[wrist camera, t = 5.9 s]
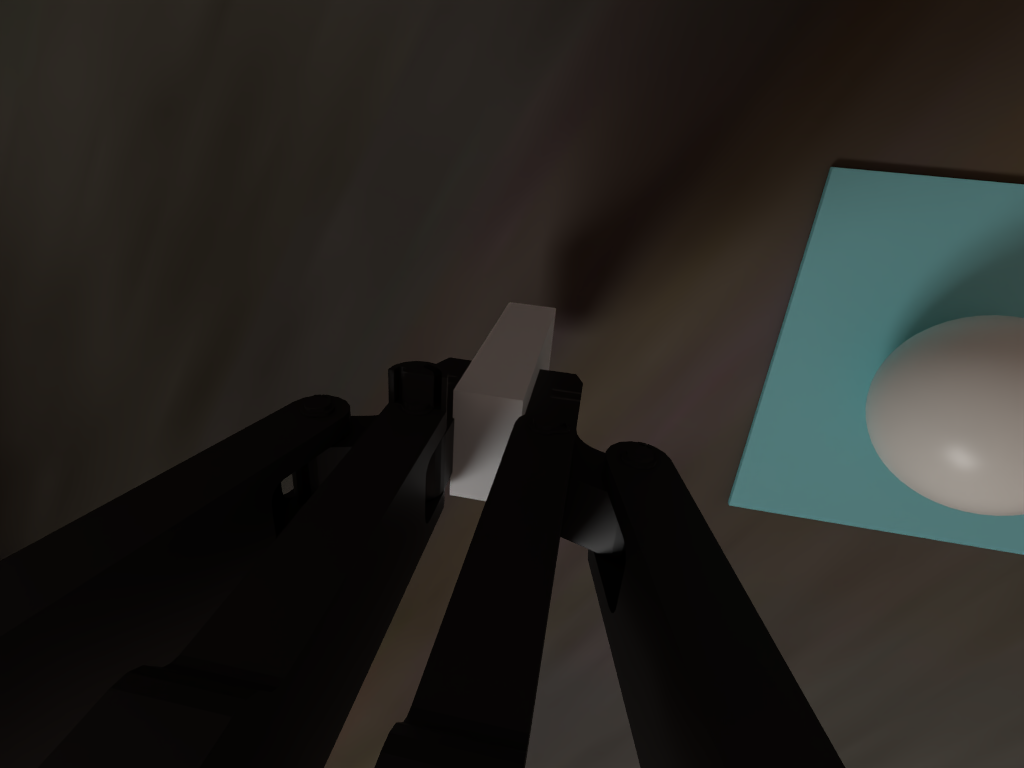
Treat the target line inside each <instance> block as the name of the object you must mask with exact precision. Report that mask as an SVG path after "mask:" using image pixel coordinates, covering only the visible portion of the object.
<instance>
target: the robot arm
mask: <svg viewBox="0 0 1024 768" xmlns="http://www.w3.org/2000/svg"><path fill="white" fill-rule="evenodd" d="M555 314H556V308H551V307H543V306H535V305H528V304H520V303H512V302H509V303H508V305H507V307H506V308H505V310H504V311H503V313H502V315H501V316H500V318H499V319H498V321H497V322H496V324H495V326H494V327H493V329H492V330H491V332H490V333H489V335H488V337H487V338H486V340H485V341H484V343H483V344H482V346H481V348H480V349H479V351H478V352H477V354H476V356H475V357H474V359H473V360H472V361H470V360H463V359H456V358H448V359H446V360H443V361H441V362H439V363H437V364H434V363H430V362H422V361H411V362H403V363H400V364H396V365H394V366H392V367H391V368H389V369H388V384H389V403H388V405H387V406H386V407H385V408H384V409H383V411H382V412H381V413H380V414H379V415H374V416H351V414H350V405H349V404H348V403H347V401H345V400H343V399H341V398H339V397H334V396H330V395H314V396H311V397H305V398H302V399H300V400H297V401H294V402H292V403H291V404H289V405H287V406H285V407H283V408H281V409H280V410H278V411H276V412H274V413H272V414H270V415H269V416H267V417H265V418H263V419H261V420H259V421H257V422H256V423H254V424H252V425H250V426H248V427H246V428H245V429H243V430H241V431H239V432H237V433H235V434H233V435H232V436H230V437H228V438H226V439H224V440H222V441H221V442H219V443H217V444H215V445H213V446H211V447H210V448H208V449H206V450H204V451H202V452H200V453H198V454H197V455H195V456H193V457H191V458H189V459H187V460H186V461H184V462H182V463H180V464H178V465H176V466H175V467H173V468H171V469H169V470H167V471H165V472H163V473H162V474H160V475H158V476H156V477H154V478H152V479H151V480H149V481H147V482H145V483H143V484H141V485H139V486H138V487H136V488H134V489H132V490H130V491H128V492H127V493H125V494H123V495H121V496H119V497H117V498H116V499H114V500H112V501H110V502H108V503H106V504H104V505H103V506H101V507H99V508H97V509H95V510H93V511H92V512H90V513H88V514H86V515H84V516H82V517H81V518H79V519H77V520H75V521H73V522H71V523H69V524H68V525H66V526H64V527H62V528H60V529H58V530H57V531H55V532H53V533H51V534H49V535H47V536H45V537H44V538H42V539H40V540H38V541H36V542H34V543H33V544H31V545H29V546H27V547H25V548H23V549H22V550H20V551H18V552H16V553H14V554H12V555H10V556H9V557H7V558H5V559H3V560H1V561H0V768H324V766H325V764H326V762H327V760H328V758H329V756H330V753H331V751H332V749H333V747H334V745H335V742H336V740H337V738H338V736H339V734H340V732H341V729H342V727H343V725H344V723H345V721H346V719H347V716H348V714H349V712H350V710H351V708H352V706H353V703H354V701H355V699H356V697H357V695H358V693H359V690H360V688H361V686H362V684H363V682H364V679H365V677H366V675H367V673H368V671H369V669H370V666H371V664H372V662H373V660H374V658H375V656H376V653H377V651H378V649H379V647H380V645H381V643H382V640H383V638H384V636H385V634H386V632H387V629H388V627H389V625H390V623H391V621H392V619H393V616H394V614H395V612H396V610H397V608H398V606H399V603H400V601H401V599H402V597H403V595H404V593H405V590H406V588H407V586H408V584H409V582H410V580H411V577H412V575H413V573H414V571H415V569H416V566H417V564H418V562H419V560H420V558H421V556H422V553H423V551H424V549H425V547H426V545H427V543H428V540H429V538H430V536H431V534H432V532H433V530H434V527H435V525H436V523H437V521H438V519H439V517H440V514H441V512H442V510H443V507H444V497H445V487H446V485H447V483H448V481H449V479H450V495H454V496H460V497H465V498H471V499H477V500H482V501H486V503H485V506H484V508H483V511H482V514H481V517H480V519H479V522H478V525H477V528H476V530H475V533H474V536H473V539H472V541H471V544H470V547H469V550H468V552H467V555H466V558H465V560H464V563H463V566H462V569H461V571H460V574H459V577H458V580H457V582H456V585H455V588H454V591H453V593H452V596H451V599H450V602H449V604H448V607H447V610H446V613H445V615H444V618H443V621H442V624H441V626H440V629H439V632H438V635H437V637H436V640H435V643H434V646H433V648H432V651H431V654H430V657H429V659H428V662H427V665H426V667H425V670H424V673H423V676H422V678H421V681H420V684H419V687H418V689H417V692H416V695H415V698H414V700H413V703H412V706H411V708H410V711H409V713H408V715H407V717H406V719H405V720H404V722H399V723H396V724H395V725H394V726H393V728H392V729H391V731H390V732H389V734H388V737H387V739H386V741H385V743H384V746H383V748H382V750H381V752H380V755H379V757H378V760H377V763H376V765H375V768H525V764H526V758H527V751H528V745H529V738H530V731H531V725H532V718H533V712H534V705H535V699H536V692H537V686H538V679H539V672H540V666H541V659H542V653H543V646H544V640H545V633H546V627H547V620H548V613H549V607H550V600H551V594H552V587H553V581H554V574H555V568H556V561H557V555H558V548H559V542H560V537H562V538H564V539H567V540H569V541H571V542H574V543H576V544H578V545H580V546H583V547H585V548H587V549H589V550H588V561H589V565H590V569H591V573H592V577H593V581H594V585H595V589H596V593H597V597H598V601H599V605H600V609H601V613H602V617H603V621H604V625H605V629H606V633H607V637H608V640H609V644H610V648H611V652H612V656H613V660H614V664H615V668H616V672H617V676H618V680H619V684H620V688H621V692H622V696H623V700H624V704H625V708H626V712H627V716H628V719H629V723H630V727H631V731H632V735H633V739H634V743H635V747H636V751H637V755H638V759H639V763H640V767H641V768H845V766H844V765H843V763H842V761H841V759H840V758H839V756H838V754H837V752H836V750H835V749H834V747H833V745H832V743H831V742H830V740H829V738H828V736H827V735H826V733H825V731H824V729H823V727H822V726H821V724H820V722H819V720H818V719H817V717H816V715H815V713H814V712H813V710H812V708H811V706H810V705H809V703H808V701H807V699H806V697H805V696H804V694H803V692H802V690H801V689H800V687H799V685H798V683H797V682H796V680H795V678H794V676H793V674H792V673H791V671H790V669H789V667H788V666H787V664H786V662H785V660H784V659H783V657H782V655H781V653H780V651H779V650H778V648H777V646H776V644H775V643H774V641H773V639H772V637H771V636H770V634H769V632H768V630H767V629H766V627H765V625H764V623H763V621H762V620H761V618H760V616H759V614H758V613H757V611H756V609H755V607H754V606H753V604H752V602H751V600H750V598H749V597H748V595H747V593H746V591H745V590H744V588H743V586H742V584H741V583H740V581H739V579H738V577H737V575H736V574H735V572H734V570H733V568H732V567H731V565H730V563H729V561H728V560H727V558H726V556H725V554H724V553H723V551H722V549H721V547H720V545H719V544H718V542H717V540H716V538H715V537H714V535H713V533H712V531H711V530H710V528H709V526H708V524H707V522H706V521H705V519H704V517H703V515H702V514H701V512H700V510H699V508H698V507H697V505H696V503H695V501H694V499H693V498H692V496H691V494H690V492H689V491H688V489H687V487H686V485H685V484H684V482H683V480H682V478H681V477H680V475H679V473H678V471H677V469H676V468H675V466H674V464H673V462H672V461H671V459H670V458H669V457H668V456H667V455H666V454H665V453H664V452H662V451H661V450H659V449H657V448H656V447H654V446H651V445H649V444H648V445H647V444H646V443H642V442H632V441H628V442H619V443H616V444H613V445H611V446H610V447H609V448H608V449H607V451H606V453H604V452H601V451H599V450H596V449H594V448H592V447H590V446H588V445H587V444H585V443H584V442H583V441H582V440H581V439H580V438H579V436H578V435H577V431H576V427H577V420H578V413H579V406H580V400H581V393H582V386H583V383H582V382H581V380H580V379H579V377H578V376H577V375H576V374H570V373H563V372H556V371H549V365H550V356H551V348H552V339H553V331H554V322H555ZM291 474H292V477H293V486H294V489H293V490H291V491H290V492H289V493H287V494H284V495H283V493H282V488H281V482H282V481H283V480H284V479H285V478H286V477H288V476H289V475H291Z"/></svg>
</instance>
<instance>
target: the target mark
mask: <svg viewBox="0 0 1024 768" xmlns="http://www.w3.org/2000/svg"><path fill="white" fill-rule="evenodd" d="M982 315H1001V316H1014V317H1020V318H1024V184H1014V183H1003V182H992V181H981V180H970V179H959V178H948V177H937V176H926V175H915V174H904V173H893V172H882V171H871V170H860V169H849V168H838V167H830V170H829V174H828V177H827V180H826V183H825V187H824V190H823V193H822V197H821V200H820V203H819V206H818V210H817V213H816V216H815V219H814V223H813V226H812V229H811V233H810V236H809V239H808V242H807V246H806V249H805V252H804V255H803V259H802V262H801V265H800V269H799V272H798V275H797V278H796V282H795V285H794V288H793V291H792V295H791V298H790V301H789V304H788V308H787V311H786V314H785V318H784V321H783V324H782V327H781V331H780V334H779V337H778V340H777V344H776V347H775V350H774V354H773V357H772V360H771V363H770V367H769V370H768V373H767V376H766V380H765V383H764V386H763V390H762V393H761V396H760V399H759V403H758V406H757V409H756V412H755V416H754V419H753V422H752V425H751V429H750V432H749V435H748V439H747V442H746V445H745V448H744V452H743V455H742V458H741V461H740V465H739V468H738V471H737V475H736V478H735V481H734V484H733V488H732V491H731V494H730V497H729V501H728V504H729V505H730V506H736V507H742V508H748V509H754V510H760V511H766V512H772V513H778V514H784V515H790V516H796V517H802V518H808V519H814V520H820V521H826V522H832V523H838V524H844V525H850V526H856V527H862V528H868V529H874V530H880V531H886V532H892V533H897V534H903V535H909V536H915V537H921V538H927V539H933V540H939V541H945V542H951V543H957V544H963V545H969V546H975V547H981V548H987V549H993V550H999V551H1005V552H1011V553H1017V554H1023V555H1024V514H1023V515H1014V516H993V515H981V514H975V513H970V512H964V511H961V510H957V509H953V508H950V507H947V506H944V505H942V504H939V503H936V502H934V501H932V500H930V499H928V498H926V497H924V496H922V495H920V494H919V493H917V492H916V491H914V490H912V489H911V488H909V487H908V486H907V485H905V484H904V483H903V482H901V481H900V480H899V479H898V478H897V477H896V476H895V475H894V474H893V473H892V472H891V471H890V470H889V469H888V468H887V467H886V465H885V464H884V463H883V462H882V460H881V459H880V457H879V456H878V454H877V452H876V450H875V448H874V446H873V444H872V442H871V439H870V436H869V433H868V429H867V423H866V411H865V407H866V400H867V395H868V391H869V388H870V385H871V382H872V380H873V378H874V376H875V374H876V372H877V370H878V369H879V367H880V366H881V365H882V363H883V362H884V361H885V359H886V358H887V357H888V356H889V355H890V354H891V353H892V352H893V351H894V350H895V349H896V348H897V347H899V346H900V345H901V344H902V343H903V342H905V341H906V340H908V339H909V338H911V337H913V336H914V335H916V334H918V333H920V332H922V331H924V330H926V329H928V328H930V327H932V326H935V325H938V324H941V323H944V322H947V321H951V320H955V319H959V318H964V317H972V316H982Z"/></svg>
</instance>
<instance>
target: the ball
mask: <svg viewBox="0 0 1024 768" xmlns="http://www.w3.org/2000/svg"><path fill="white" fill-rule="evenodd" d="M865 411H866V423H867V429H868V433H869V436H870V439H871V442H872V444H873V446H874V448H875V450H876V452H877V454H878V456H879V457H880V459H881V460H882V462H883V463H884V464H885V465H886V467H887V468H888V469H889V470H890V471H891V472H892V473H893V474H894V475H895V476H896V477H897V478H898V479H899V480H900V481H901V482H903V483H904V484H905V485H907V486H908V487H909V488H911V489H912V490H914V491H916V492H917V493H919V494H920V495H922V496H924V497H926V498H928V499H930V500H932V501H934V502H936V503H939V504H942V505H944V506H947V507H950V508H953V509H957V510H961V511H964V512H970V513H975V514H981V515H993V516H1014V515H1023V514H1024V318H1020V317H1014V316H1001V315H982V316H972V317H964V318H959V319H955V320H951V321H947V322H944V323H941V324H938V325H935V326H932V327H930V328H928V329H926V330H924V331H922V332H920V333H918V334H916V335H914V336H913V337H911V338H909V339H908V340H906V341H905V342H903V343H902V344H901V345H900V346H899V347H897V348H896V349H895V350H894V351H893V352H892V353H891V354H890V355H889V356H888V357H887V358H886V359H885V361H884V362H883V363H882V365H881V366H880V367H879V369H878V370H877V372H876V374H875V376H874V378H873V380H872V382H871V385H870V388H869V391H868V395H867V400H866V407H865Z"/></svg>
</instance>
